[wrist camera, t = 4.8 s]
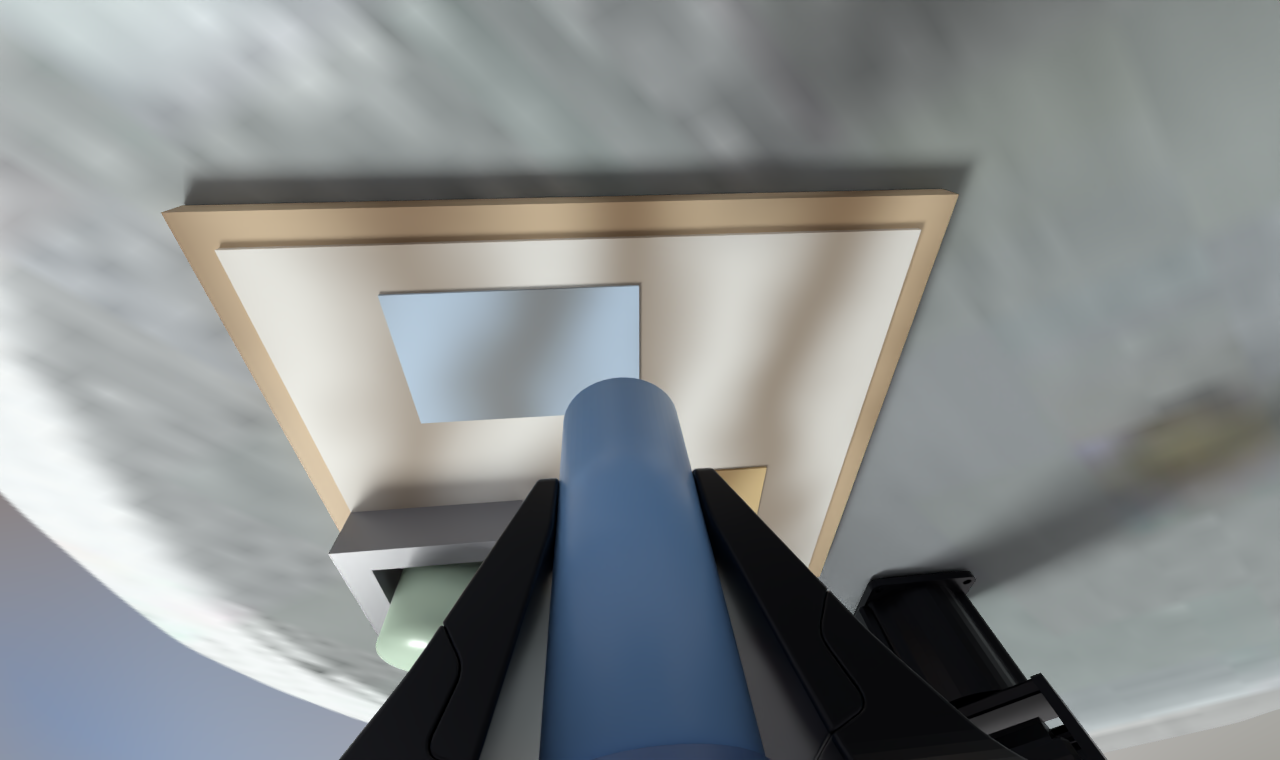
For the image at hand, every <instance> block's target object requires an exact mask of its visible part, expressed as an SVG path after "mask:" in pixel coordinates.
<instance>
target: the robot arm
mask: <svg viewBox="0 0 1280 760" xmlns="http://www.w3.org/2000/svg"><path fill="white" fill-rule="evenodd" d="M692 473H693V477H694V481H695V485H696V489H697V492H698V496H699V500H700V504H701V508H702V512H703V516H704V520H705V523H706V527H707V531H708V535H709V539H710V543H711V547H712V551H713V554H714V558H715V562H716V566H717V570H718V574H719V578H720V582H721V585H722V589H723V593H724V597H725V601H726V605H727V609H728V612H729V616H730V620H731V624H732V628H733V632H734V636H735V640H736V643H737V647H738V651H739V655H740V659H741V663H742V667H743V671H744V674H745V678H746V682H747V686H748V690H749V694H750V698H751V702H752V705H753V709H754V713H755V717H756V721H757V725H758V729H759V733H760V736H761V740H762V744H763V748H764V752H765V756H766V757H767V758H769V759H771V760H1107V758H1106V757H1105V756H1104V754H1103V753H1102V752H1101V750H1100V749H1099V748H1098V746H1097V745H1096V744H1095V742H1094V741H1093V740H1092V738H1091V737H1090V736H1089V734H1088V733H1087V732H1086V730H1085V729H1084V728H1083V727H1082V725H1081V724H1080V723H1079V721H1078V720H1077V719H1076V717H1075V716H1074V715H1073V713H1072V712H1071V711H1070V709H1069V708H1068V707H1067V705H1066V704H1065V703H1064V701H1063V700H1062V699H1061V698H1060V696H1059V695H1058V694H1057V692H1056V691H1055V690H1054V689H1053V687H1052V686H1051V685H1050V684H1049V682H1048V681H1047V680H1046V679H1045V677H1044V676H1043V675H1042V674H1041V673H1039V674H1036V675H1033V676H1031V679H1030V680H1027V679H1026V677H1025V676H1024V675H1023V673H1022V672H1021V670H1020V669H1019V668H1018V666H1017V665H1016V663H1015V662H1014V661H1013V659H1012V658H1011V657H1010V655H1009V654H1008V652H1007V651H1006V650H1005V648H1004V647H1003V645H1002V644H1001V643H1000V641H999V640H998V639H997V637H996V636H995V634H994V633H993V632H992V630H991V629H990V627H989V626H988V625H987V623H986V622H985V621H984V619H983V618H982V616H981V615H980V614H979V612H978V611H977V609H976V608H975V607H974V605H973V604H972V603H971V601H970V600H969V598H968V597H967V596H966V594H967V592H968V591H969V589H970V588H971V586H972V585H973V584H974V582H975V580H976V579H975V577H974V576H973V574H972V573H971V572H970V571H960V572H949V573H938V574H927V575H916V576H905V577H894V578H883V579H875V580H873V581H871V582H870V583H869V584H868V586H867V588H866V590H865V592H864V594H863V596H862V598H861V601H860V603H859V605H858V607H857V609H856V611H855V613H854V615H853V614H852V613H851V612H850V611H849V610H848V609H847V608H846V607H845V606H844V605H843V604H842V603H841V602H840V601H839V600H838V599H837V598H836V597H835V596H834V595H833V593H832V592H831V591H827V588H826V586H825V585H824V584H823V583H822V582H821V581H820V580H819V579H818V578H817V577H816V576H815V575H814V574H813V573H812V572H811V571H810V570H809V568H808V567H807V566H806V565H805V564H804V563H803V562H802V561H801V560H800V559H799V558H798V557H797V556H796V555H795V554H794V553H793V552H792V551H791V550H790V549H789V547H788V546H787V545H786V544H785V543H784V542H783V541H782V540H781V539H780V538H779V537H778V536H777V535H776V534H775V533H774V532H773V531H772V530H771V529H770V528H769V527H768V525H767V524H766V523H765V522H764V521H763V520H762V519H761V518H760V517H759V516H758V515H757V514H756V513H755V512H754V511H753V510H752V509H751V508H750V507H749V506H748V504H747V503H746V502H745V501H744V500H743V499H742V498H741V497H740V496H739V495H738V494H737V493H736V492H735V491H734V490H733V489H732V488H731V487H730V486H729V485H728V483H727V482H726V481H725V480H724V479H723V478H722V477H721V476H720V475H719V474H718V473H717V472H716V471H715V470H714V469H713V468H697V469H694V470H693V472H692ZM558 493H559V480H558V479H556V478H548V479H539V480H538V481H537V482H536V483H535V485H534V486H533V488H532V489H531V491H530V492H529V494H528V495H527V497H526V498H525V500H524V501H523V503H522V504H521V506H520V507H519V509H518V510H517V512H516V513H515V515H514V516H513V518H512V519H511V521H510V522H509V524H508V525H507V527H506V528H505V530H504V531H503V533H502V534H501V536H500V537H499V539H498V540H497V542H496V543H495V545H494V546H493V548H492V549H491V551H490V552H489V554H488V555H487V557H486V558H485V560H484V561H483V563H482V564H481V566H480V567H479V569H478V570H477V572H476V573H475V575H474V576H473V578H472V579H471V581H470V582H469V584H468V585H467V587H466V588H465V590H464V591H463V593H462V594H461V596H460V597H459V599H458V600H457V602H456V603H455V605H454V606H453V607H452V609H451V610H450V612H449V613H448V615H447V616H446V618H445V619H444V621H443V625H444V626H440V627H439V628H438V630H437V631H436V633H435V634H434V636H433V637H432V639H431V640H430V642H429V643H428V645H427V646H426V648H425V649H424V650H423V652H422V653H421V655H420V656H419V657H418V659H417V660H416V662H415V663H414V665H413V666H412V667H411V669H410V670H409V672H408V673H407V674H406V676H405V677H404V678H403V680H402V681H401V682H400V684H399V685H398V686H397V687H396V689H395V690H394V691H393V693H392V694H391V695H390V696H389V698H388V699H387V700H386V702H385V703H384V704H383V705H382V707H381V708H380V709H379V711H378V712H377V713H376V714H375V716H374V717H373V718H372V719H371V720H370V722H369V723H368V724H367V725H366V727H365V728H364V729H363V730H362V732H361V733H360V734H359V735H358V737H357V738H356V739H355V740H354V742H353V743H352V744H351V745H350V746H349V748H348V749H347V750H346V751H345V753H344V754H343V755H342V756H341V758H340V759H339V760H539V750H540V736H541V722H542V708H543V695H544V681H545V667H546V654H547V640H548V626H549V612H550V599H551V585H552V571H553V557H554V546H555V534H556V520H557V506H558ZM1057 717H1059V718H1060V719H1061V721H1062V722H1063V724H1064V725H1061V726H1058V727H1055V728H1052V729H1049V727H1048V726H1047V725H1046V724H1045V723H1044V722H1045V721H1048V720H1051V719H1054V718H1057Z"/></svg>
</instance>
